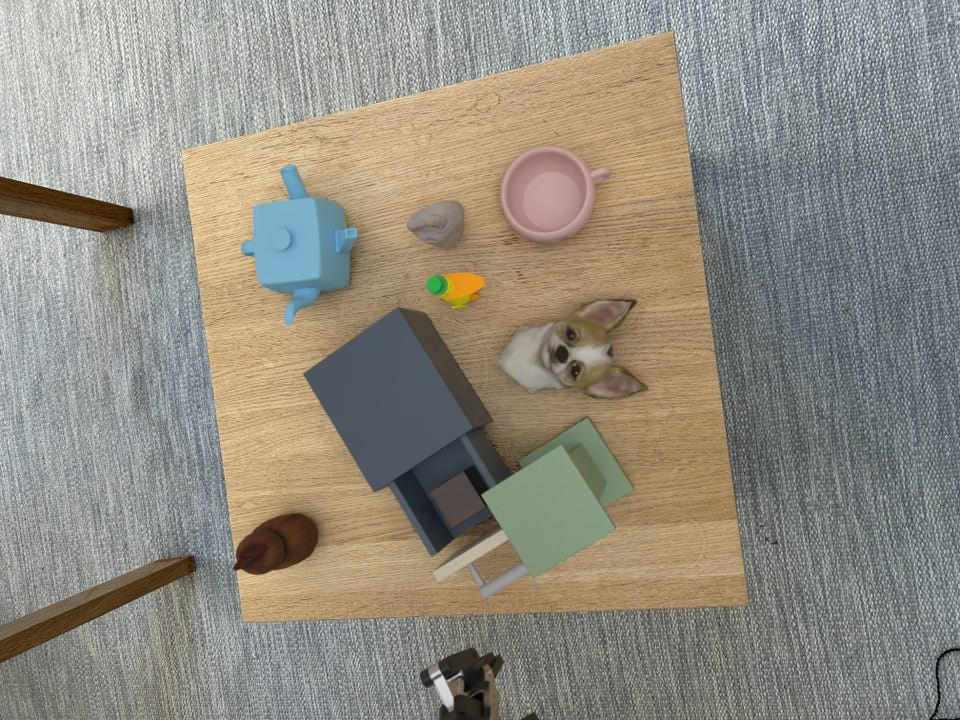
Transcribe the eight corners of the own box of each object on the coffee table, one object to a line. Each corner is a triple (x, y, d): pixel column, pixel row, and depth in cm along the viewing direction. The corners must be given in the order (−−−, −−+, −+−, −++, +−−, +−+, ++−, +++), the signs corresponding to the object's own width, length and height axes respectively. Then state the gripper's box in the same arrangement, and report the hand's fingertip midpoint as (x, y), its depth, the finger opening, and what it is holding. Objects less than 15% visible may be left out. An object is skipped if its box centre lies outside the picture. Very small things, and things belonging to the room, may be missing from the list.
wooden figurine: (318, 502, 91) (252, 529, 76) (332, 549, 90) (268, 585, 76) (268, 517, 92) (195, 546, 78) (282, 564, 92) (210, 602, 77)
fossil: (466, 205, 87) (441, 185, 77) (483, 230, 86) (460, 213, 76) (425, 235, 88) (395, 219, 78) (441, 260, 87) (413, 247, 78)
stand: (634, 487, 82) (625, 532, 61) (564, 529, 84) (531, 587, 63) (588, 416, 83) (563, 435, 62) (520, 459, 85) (472, 492, 64)
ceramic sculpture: (486, 310, 77) (638, 289, 74) (499, 314, 85) (635, 296, 83) (500, 415, 77) (652, 398, 74) (511, 409, 85) (648, 394, 83)
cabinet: (493, 420, 86) (473, 428, 77) (404, 478, 88) (373, 492, 79) (425, 312, 88) (397, 306, 78) (339, 372, 90) (302, 373, 81)
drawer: (563, 545, 83) (554, 564, 76) (478, 596, 85) (460, 619, 78) (476, 406, 85) (458, 411, 78) (395, 460, 88) (370, 469, 80)
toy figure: (499, 273, 86) (473, 259, 74) (503, 305, 86) (478, 296, 74) (441, 282, 87) (407, 270, 76) (445, 313, 87) (412, 306, 76)
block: (495, 499, 84) (486, 507, 79) (462, 520, 85) (451, 529, 80) (473, 464, 84) (463, 470, 80) (440, 485, 85) (428, 492, 81)
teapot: (267, 184, 92) (220, 163, 82) (377, 169, 89) (342, 145, 79) (277, 333, 92) (231, 330, 82) (387, 324, 89) (353, 319, 79)
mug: (525, 261, 85) (515, 254, 79) (496, 178, 86) (484, 165, 80) (629, 220, 82) (627, 210, 77) (598, 135, 83) (593, 118, 77)
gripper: (349, 730, 49) (428, 636, 65) (468, 940, 47) (519, 789, 64) (444, 675, 47) (500, 593, 64) (571, 890, 46) (595, 748, 62)
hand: (509, 692), depth 64 cm, fingers open, 4 cm apart
